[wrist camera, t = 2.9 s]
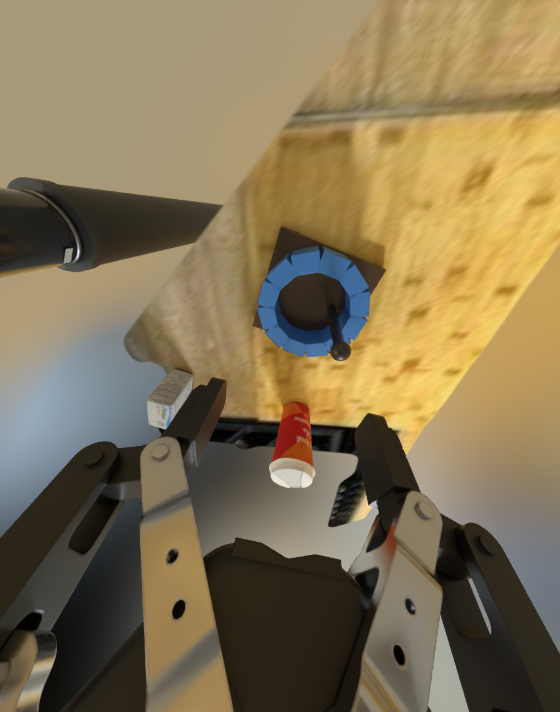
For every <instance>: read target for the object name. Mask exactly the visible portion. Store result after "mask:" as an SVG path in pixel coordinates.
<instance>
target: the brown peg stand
mask: <svg viewBox="0 0 560 712" xmlns="http://www.w3.org/2000/svg"><path fill="white" fill-rule="evenodd" d="M313 246H318V247H319V250H320V251H321V249H322V246H324V247H327V248H329V249H332V250H334V251H336V252H339V253H341V254H344V255H346V256H347V257H348V259H350V260H351V261H352V262H353V263H354V264H355V265H356V267H357V268H358V270H359V272H360V273H361V275H362V276H363V278H364V280H365V281H366V283H367V284H368V286H369V288H368V290H369V291H370V295H371V294H372V292H373V290H374V289H375V287H376V286H377V284H378V282H379V281H380V279H381V278H382V276H383V274H384V273H385V271H386V270H385V269H384V268H382V267H380V266H377V265H375V264H373V263H370V262H368V261H365V260H363V259H361V258H358V257H356V256H353V255H351V254H348V253H346V252H344V251H341V250H339V249H336V248H334V247H331V246H329V245H327V244H324V243H322V242H319V241H317V240H315V239H312V238H310V237H307V236H305V235H302V234H300V233H298V232H295V231H293V230H290V229H288V228H286V227H283V226H282V227H281V228H280V232H279V235H278V239H277V242H276V246H275V249H274V253H273V256H272V260H271V263H270V267H269V270H268V274H269V272H270V271H271V269H272V268H273V267H274V266H276V265H277V264H278V263H279V262H280V261H281V260H282V259H283V258H284V257H285V256H286V255H287V254H288V253H290V254H291V255H292V253H293V251H294V250H298V249H303V248H308V247H313ZM268 274H267V275H268ZM278 300H279V305H280V309H281V314H282V315H283V316H284V317H285V319H286V320H287V321H288V322H289V323H290V324H291V325H292V326H294V327H297V328H299V329H302V330H305V331H313V330H321V329H324V328H326V327H327V326H329V325H330V331H331V337H332V342H333V345H332V346H331V348H330V352H329V351H328V350H327V352H328V353H330V354H331V356H332V358H333V359H335V360H337V361H344V360H346V359H348V358H349V357H350V355H351V347H350V345H349V344H348V343H347V342H345V341H344V338H343V334H342V330H341V327H340V323H339V320H338V318H339V316H340V314H341V312H342V310H343V309H344V307H345V305H346V302H345V289H344V287H343V286H342V285H341V283H340V282H339V280H337V279H334V278H332V277H329V276H327V275H324V274H322V273H319V272H316V273H310V274H305V275H299V276H296V277H295V278H294V279H292V280H291V281H290V282H289V283H288V284H287V285H285V286H284V287H283V288H282V289H281V291H280V294H279V297H278ZM258 306H259V305H258ZM253 326H255V327H258V328H261V329H263V328H262V324H261V321H260V317H259V313H258V309H257V312H256V316H255V319H254V323H253ZM264 330H266V329H264Z"/></svg>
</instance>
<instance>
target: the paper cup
mask: <svg viewBox="0 0 560 712" xmlns="http://www.w3.org/2000/svg"><path fill="white" fill-rule="evenodd" d="M269 469H270V472H271V478H272V480H273V481H274V482H275V483H277V484H279V485H281V486H284V487H287V488H290V487H293V488H299V487H302V488H304V487H307V486H309V485H310V484H311V483H312V481H313V477H314V476H315V470H314V468H313V460H312V445H311V430H310V417H309V410H308V408H307V406H305V405H304V404H302V403H298V402H292V403H288V404H287V405H286V406H285V407H284V410H283V414H282V418H281V423H280V427H279V432H278V437H277V441H276V446H275V452H274V456H273V460H272V463H271V464H270V466H269ZM301 485H302V486H301Z"/></svg>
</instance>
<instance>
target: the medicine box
mask: <svg viewBox="0 0 560 712" xmlns="http://www.w3.org/2000/svg"><path fill="white" fill-rule="evenodd" d="M192 382H193V374H190V373H186V372H183V371H180V370H177V369H174V368H173V369H172V370H171V371H170V372H169V374H168V375H167V376H166V377H165V378H164V379H163V381H162V382H161V383H160V384H159V385H158V386H157V388H156V389H155V390H154V391H153V392H152V394H151V395H150V396H149V397H148V398H147V409H148V421H149V424H151V425H153V426H156V427H159V428H163V429H167V427H168V426H169V424H170V423H171V421H172V420H173V418H174V417H175V415H176V414H177V412H178V411H179V409H180V408H181V407H182V405H183V403H184V402H185V400H186V399H187V397H188V396H189V394H190V393H191V391H192Z"/></svg>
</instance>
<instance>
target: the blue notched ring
mask: <svg viewBox="0 0 560 712" xmlns="http://www.w3.org/2000/svg"><path fill="white" fill-rule="evenodd" d="M316 272H319V273H322V274H324V275H327V276H329V277H332V278H334V279H337V280H339V282H340V283H341V285H342V286H343V287H344V289H345V302H346V305H345V307H344V309H343V310H342V312H341V314H340V316H339V318H338V320H339V323H340V327H341V330H342V334H343V338H344V341H345V342H347V343H348V344H350V343H351V341H350V339H352V340H355V338H356V337H357V335H358V334H359V332H360V331H361V329H362V328H363V326H364V325H365V323H366V322H367V319H366V317H368V316H369V303H370V291H369V290H368V288H369V286H368V284H367V283H366V281H365V280H364V278H363V276H362V275H361V273H360V272H359V270H358V268H357V267H356V265H355V264H354V263H353V262H352V261H351V260H350V259H348V257H347V256H346V255H344V254H341V253H339V252H336V251H334V250H332V249H329V248H327V247H324V246H322V249H321V251H320V250H319V247H318V246H313V247H308V248H303V249H298V250H294V251H293V253H292V255H291V254H290V253H288V254H287V255H286V256H285V257H284V258H283V259H282V260H281V261H280V262H279V263H278V264H277V265H276V266H274V267H273V268H272V269H271V271H270V272H269V274H268V275H267V276H266V278H265V280H264V282H263V285H262V289H261V292H260V296H259V299H258V303H257V304H258V305H259V306H258V308H257V309H258V313H259V317H260V321H261V324H262V328H263V330H264V329H266V331H265V334H266V335H267V336H268V337H269V338H270V339H271V340H272V341H273V342H274V343H275V344H276V345H277V346H278V347H279V348H280V347H281V346H283V350H284V351H287V352H290V353H293V354H296V355H299V356H301V357H303V355H304V353H305V354H306V357H315V356H326V355H328V352H327V350H328V351H329V352H330V348H331V346H332V345H333V342H332V337H331V331H330V325H329V326H327V327H326V328H324V329H321V330H313V331H305V330H302V329H299V328H297V327H294V326H292V325H291V324H290V323H289V322H288V321H287V320H286V319H285V317H284V316H283V315H282V314H281V309H280V305H279V300H278V297H279V294H280V291H281V289H282V288H283V287H284V286H285V285H287V284H288V283H289V282H290V281H291V280H292V279H294V278H295V277H296V276H299V275H305V274H310V273H316Z"/></svg>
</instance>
